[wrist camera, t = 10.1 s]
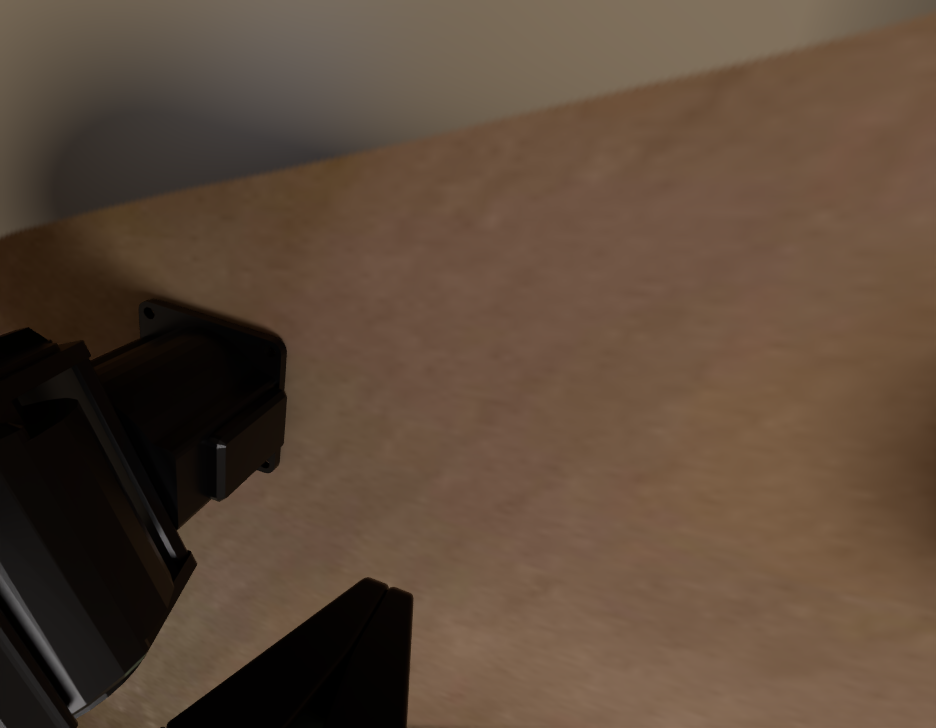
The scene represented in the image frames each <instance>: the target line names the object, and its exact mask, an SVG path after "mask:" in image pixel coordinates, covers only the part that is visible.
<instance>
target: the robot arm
mask: <svg viewBox="0 0 936 728" xmlns="http://www.w3.org/2000/svg"><path fill="white" fill-rule="evenodd" d="M151 309H152V310H153V311H154V314H155V315H154V314H153V312H152V310H151ZM139 323H140V339H137V340H135V341H133V342H131V343H129V344H126V345H124V346H122V347H120V348H117V349H115V350H113V351H111V352H109V353H106V354H104V355H102V356H100V357H97V358H95V359H93V360H91V361H90V360H89V357H91V355H90V353H89V351H88V349H87V347H86V345H85V343H84V341H83V340H80V341H75V342H70V343H65V344H61V345H58V344H57V343H53V342H52V340H47V339H45V338H44V337H42V336H41V335H39V334H38V333H36V332H35V331H33V330H32V329H30V328H29V327H28V328H23V329H19V330H15V331H12V332H9V333H6V334H3V335H0V728H77V726H78V722H77V720H76V718H77V717H79V716H81V715H83V714H84V713H86V712H88V711H89V710H91V709H92V708H94V707H95V706H96V705H98V704H99V703H101V702H102V701H103V700H105V699H106V698H107V697H109V696H110V695H111V694H112V693H113V692H114V691H115V690H117V689H118V688H119V687H120V686H121V685H122V684H123V683H124V682H125V681H126V680H127V679H128V678H129V677H130V676H131V674H132V673H133V672H134V671H135V670H136V669H137V667H138V666H139V664H140V663H141V662H142V660H143V659H144V658H145V656H146V654H147V652H148V650H149V649H150V647H151V645H152V643H153V642H154V640H155V638H156V636H157V635H158V633H159V631H160V629H161V627H162V626H163V624H164V622H165V620H166V619H167V617H168V615H169V613H170V612H171V610H172V608H173V606H174V605H175V603H176V601H177V599H178V598H179V596H180V594H181V592H182V590H183V589H184V587H185V585H186V583H187V582H188V580H189V578H190V576H191V575H192V573H193V571H194V569H195V568H196V566H197V563H196V561H195V559H194V557H193V555H192V553H191V551H189V550H187V549H186V547H185V545H184V544H183V542H182V540H181V538H180V536H179V534H178V532H177V530H178V529H179V528H180V527H181V526H182V525H184V524H185V523H186V522H187V521H188V520H189V519H190V518H191V517H192V516H193V515H194V514H196V513H197V512H198V511H199V510H200V509H201V508H202V507H203V506H204V505H205V504H207V503H208V502H209V501H210V500H211V499H213V500H216V501H219V502H220V501H221V500H223V499H225V498H227V497H228V496H229V495H230V494H231V493H232V492H233V491H234V490H235V489H237V488H238V487H239V486H240V485H241V484H242V483H243V482H244V481H245V480H246V479H247V478H248V477H249V476H250V475H251V474H252V473H254V472H255V471H256V470H258V471H261V472H264V473H271V472H272V471H273V470H274V469H275V468H276V467H277V466H278V465H279V463H280V449H281V446H282V445H283V444H284V432H285V418H286V403H287V396H286V393H285V391H284V388H285V372H286V357H287V350H286V346H285V344H284V343H283V342H282V341H281V340H280V339H278V338H276V337H273V336H270V335H267V334H264V333H261V332H258V331H254V330H251V329H248V328H245V327H242V326H239V325H236V324H233V323H229V322H226V321H223V320H220V319H217V318H214V317H211V316H207V315H204V314H201V313H198V312H195V311H192V310H189V309H186V308H182V307H179V306H176V305H173V304H170V303H167V302H164V301H160V300H157V299H150V300H147V301H144V302H142V303H141V304H140V305H139ZM270 347H272V348H273V349H274V350H275V353H276V354H274V353H272V351H271V350H270ZM266 460H267V461H268V462H269V463H268V462H267V461H266ZM412 618H413V595H412V594H411V593H409V592H406V591H404V590H401V589H398V588H396V587H390V588H389V587H388V585H387V584H385V583H383V582H380V581H377V580H375V579H372V578H369V577H367V578H364V579H362V580H361V581H359V582H358V583H357V584H355V585H354V586H352V587H351V588H350V589H348V590H347V591H346V592H344V593H343V594H342V595H340V596H339V597H338V598H336V599H335V600H333V601H332V602H331V603H329V604H328V605H327V606H325V607H324V608H323V609H321V610H320V611H319V612H317V613H316V614H314V615H313V616H312V617H310V618H309V619H308V620H306V621H305V622H304V623H302V624H301V625H300V626H298V627H297V628H295V629H294V630H293V631H291V632H290V633H289V634H287V635H286V636H285V637H283V638H282V639H281V640H279V641H278V642H276V643H275V644H274V645H272V646H271V647H270V648H268V649H267V650H266V651H264V652H263V653H262V654H260V655H259V656H257V657H256V658H255V659H253V660H252V661H251V662H249V663H248V664H247V665H245V666H244V667H243V668H241V669H240V670H238V671H237V672H236V673H234V674H233V675H232V676H230V677H229V678H228V679H226V680H225V681H224V682H222V683H221V684H219V685H218V686H217V687H215V688H214V689H213V690H211V691H210V692H209V693H207V694H206V695H205V696H203V697H202V698H200V699H199V700H198V701H196V702H195V703H194V704H192V705H191V706H190V707H188V708H187V709H186V710H184V711H183V712H181V713H180V714H179V715H177V716H176V717H175V718H173V719H172V720H171V721H169V722H168V724H167V727H166V728H407V712H408V693H409V674H410V655H411V637H412ZM161 728H165V727H161Z"/></svg>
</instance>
